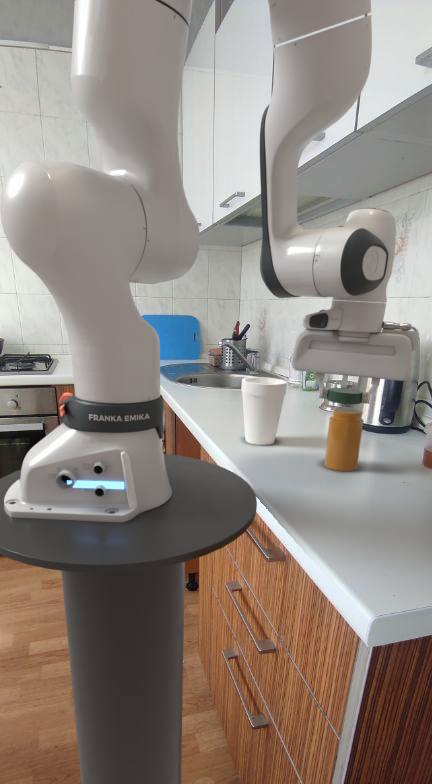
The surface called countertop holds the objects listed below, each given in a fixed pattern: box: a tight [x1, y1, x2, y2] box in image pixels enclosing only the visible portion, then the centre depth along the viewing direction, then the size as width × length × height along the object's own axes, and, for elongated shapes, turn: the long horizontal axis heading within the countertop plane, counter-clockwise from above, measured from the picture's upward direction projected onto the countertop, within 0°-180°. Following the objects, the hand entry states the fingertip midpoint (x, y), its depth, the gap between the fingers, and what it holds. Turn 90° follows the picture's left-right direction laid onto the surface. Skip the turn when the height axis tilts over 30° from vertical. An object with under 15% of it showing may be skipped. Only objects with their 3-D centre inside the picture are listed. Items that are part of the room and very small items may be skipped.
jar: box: [324, 407, 364, 472], centre depth 86 cm, size 6×6×11 cm
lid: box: [326, 387, 364, 405], centre depth 84 cm, size 6×6×2 cm
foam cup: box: [240, 376, 288, 446], centre depth 99 cm, size 10×9×13 cm
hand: (343, 400), depth 84 cm, fingers closed on lid, 6 cm apart
